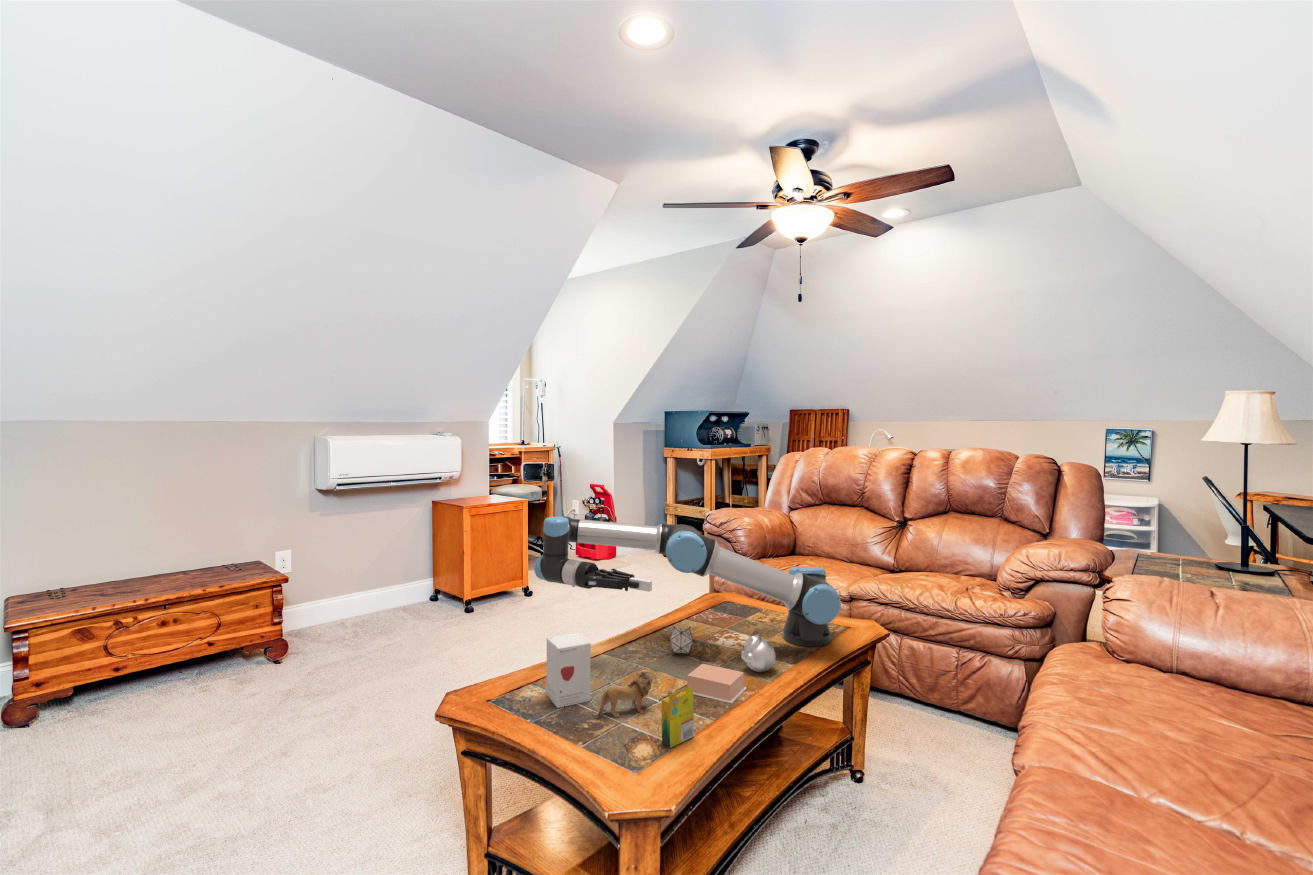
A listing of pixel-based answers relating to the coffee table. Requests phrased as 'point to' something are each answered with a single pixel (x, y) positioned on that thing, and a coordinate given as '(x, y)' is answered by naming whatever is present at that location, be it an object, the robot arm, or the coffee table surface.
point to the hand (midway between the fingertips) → (650, 586)
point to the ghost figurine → (758, 654)
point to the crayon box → (677, 717)
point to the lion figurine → (628, 693)
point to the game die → (681, 640)
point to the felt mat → (723, 699)
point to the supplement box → (568, 669)
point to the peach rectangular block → (716, 681)
